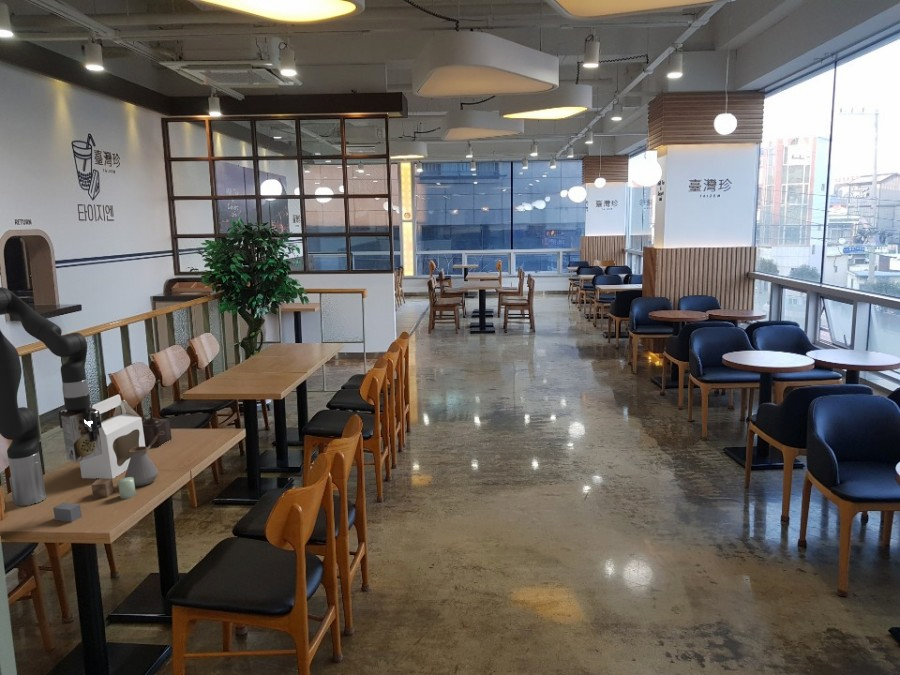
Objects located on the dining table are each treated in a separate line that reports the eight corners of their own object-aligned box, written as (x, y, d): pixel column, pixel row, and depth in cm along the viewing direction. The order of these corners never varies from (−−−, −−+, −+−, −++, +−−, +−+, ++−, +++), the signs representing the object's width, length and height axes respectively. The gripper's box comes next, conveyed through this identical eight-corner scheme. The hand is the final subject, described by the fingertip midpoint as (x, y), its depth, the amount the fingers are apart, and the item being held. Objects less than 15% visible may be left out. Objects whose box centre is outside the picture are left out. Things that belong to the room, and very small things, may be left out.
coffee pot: (147, 489, 248) (141, 449, 245) (118, 488, 250) (113, 448, 247) (180, 466, 269) (175, 430, 266) (153, 466, 271) (148, 429, 268)
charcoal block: (55, 520, 225) (53, 507, 224) (65, 515, 229) (63, 502, 228) (72, 522, 223) (69, 509, 222) (81, 517, 227) (79, 504, 226)
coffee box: (93, 451, 236) (87, 405, 233) (103, 454, 233) (97, 408, 230) (66, 459, 229) (59, 412, 226) (75, 462, 225) (69, 415, 222)
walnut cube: (93, 498, 242) (91, 484, 241) (99, 492, 247) (97, 479, 246) (107, 497, 242) (105, 483, 241) (113, 491, 247) (111, 478, 246)
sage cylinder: (117, 498, 241) (114, 482, 240) (126, 492, 245) (124, 476, 244) (129, 499, 240) (127, 483, 238) (138, 493, 244) (136, 477, 243)
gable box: (118, 457, 283) (109, 391, 278) (147, 458, 280) (138, 391, 275) (81, 478, 261) (70, 407, 256) (112, 479, 259) (101, 408, 254)
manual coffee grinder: (150, 438, 305) (145, 399, 302) (172, 439, 303) (167, 400, 299) (127, 451, 290) (121, 410, 287) (150, 451, 288) (145, 410, 284)
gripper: (49, 396, 225) (56, 443, 228) (86, 397, 222) (93, 445, 225) (66, 390, 232) (72, 436, 235) (102, 391, 229) (109, 437, 232)
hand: (82, 440), depth 230 cm, fingers closed on coffee box, 8 cm apart
